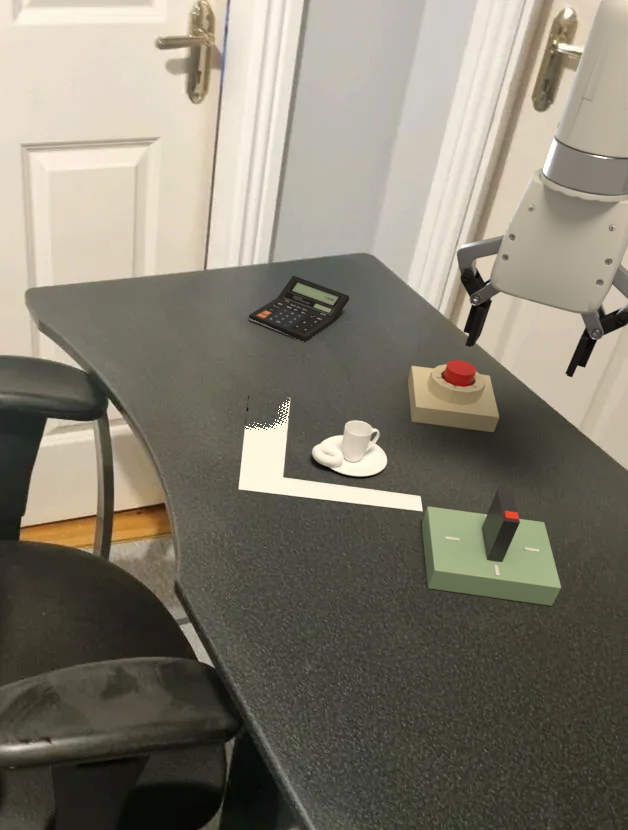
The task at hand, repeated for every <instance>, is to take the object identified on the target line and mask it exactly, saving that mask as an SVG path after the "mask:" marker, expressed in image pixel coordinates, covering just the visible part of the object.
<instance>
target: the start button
mask: <svg viewBox="0 0 628 830" xmlns="http://www.w3.org/2000/svg"><path fill="white" fill-rule="evenodd" d="M446 364H447V365H446V369H445V372H444V375H443V379H444V380H445V381H446V382H447V383H450V384H452V385H455V386H461V387H467V386H471V385H472V383H473V380H474V377H475V374H476V371H477V368H476V367H475V366H474V365H473V364H472V363H470V362H468V361H465V360H450V361H448V362H447V363H446Z"/></svg>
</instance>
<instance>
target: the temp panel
mask: <svg viewBox="0 0 628 830" xmlns="http://www.w3.org/2000/svg"><path fill="white" fill-rule="evenodd" d="M487 514H488V513H487ZM487 514H486V513H480V512H479V513H478V512H472V511H471V512H470V511H465V510H457V509H450V508H443V507H436V506H427V507H426V510H425V513H424V516H423V520H422V522H421V531H422V532H421V534H422V543H423V553H424V554H423V555H424V562H425V563H424V564H425V574H426V582H427V585H426V586H427V589H429V590H436V591H443V592H450V593H457V594H464V595H472V596H479V597H485V598H492V599H498V600H507V601H515V602H521V603H528V604H535V605H543V606H550V607H553V605H554V603H555V601H556V600H557V597H558V595H559V593H560V592H561V589H562V585H561V581H560V577H559V574H558V573H559V572H558V570H557V566H556V562H555V561H556V560H555V558H554V554H553V550H552V547H551V543H550V542H551V541H550V539H549V535H548V531H547V527H546V523H545V522H544V521H538V520H531V519H524V518H519V521H520V524H519V526H518V528H517V530H516V533H515V535H514V537H513V539H512V542H511V544H510V546H509V548H508V551H507V553H506V555H505V557H504V559H503V562H499V561H492V560H487V555H486V549H485V543H484V537H483V532H482V526H483V524H484V521H485V519H486V516H487Z"/></svg>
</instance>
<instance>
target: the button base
mask: <svg viewBox="0 0 628 830" xmlns="http://www.w3.org/2000/svg"><path fill="white" fill-rule="evenodd" d="M446 365H447V363H446V364H445V363H444V364H439V365H437V366H435V367H434V368H432V367H425V366H419V365H418V366H417V365H411V367H410V370H409V373H408V377H407V387H408V397H409V399H408V400H409V408H410V409H409V410H410V418H411V419H410V420H411V422H412V423H420V424H428V425H434V426H435V425H436V426H442V427H450V428H458V429H466V430H472V431H473V430H474V431H481V432H487V433H488V432H489V433H495V431H496V428H497V425H498V423H499V419H500V413H499V410H498V406H497V401H496V397H495V393H494V388H493V384H492V379H491V376H490V375H488V374H481V373H479V372H478V371H477V370H476V374H475V377H474V380H473V383H472V385H471V386H467V387H461V386H455V385H452V384H450V383H447V382H446V381H445V380H444V379H443V375H444V372H445V369H446Z"/></svg>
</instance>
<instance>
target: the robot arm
mask: <svg viewBox="0 0 628 830" xmlns="http://www.w3.org/2000/svg"><path fill="white" fill-rule="evenodd" d="M555 129H556V130H555V132H554V135H553V138H552V141H551V144H550V147H549V149H548V153H547V155H546V159H545V161H544V164H543V167H542V168H537V169H535V170H534V171H533V173H532V174H531V176H530V178H529V180H528V181H527V184H526V186H525V187H524V189H523V192H522V194H521V196H520V198H519V199H518V202H517V205H516V207H515V209H514V211H513V213H512V216H511V218H510V220H509V223H508V225H507V228H506V229H505V232H504V234H503V235H499V236H495V237H490V238H486V239H482V240H477V241H472V242H469V243H465V244H462V245H461V246H460V248H459V249H458V250H457V251H456V259H457V265H458V269H459V273H460V282H461V284H462V285H463V288H464V289H465V291H466V293H467V295H468V296H469V304H470V305H471V306H470V309H469V312H468V314H467V315H468V316H467V319H466V322H465V325H464V328H463V333H466V334H468V336H467V338H466V341H465V346H466V347H469V348H471V347H474V346H475V344H476V343H477V341H478V340H479V338H480V337H481V335H482V332H483V329H484V326H485V323H486V320H487V317H488V314H489V312H490V308H491V306H492V302H493V299H492V298H493V297H494V296H495V297H496V295H498V294H500V293H503V294H505V295H508V296H510V297H515V298H518V299H522V300H525V301H528V302H531V303H532V302H533V303H536V304H540V305H544V306H547V307H550V308H555V309H557V310H562V311H565V312H569V313H574V314H578V315H580V316H581V319H582V321H583V324H584V326H585V327H584V329H583V331H582V334H581V335H580V338H579V340H578V343H577V345H576V347H575V349H574V352H573V355H572V357H571V359H570V361H569V363H568V367H567V369H566V371H565V375H566V377H570V378H573V377H574V374H575V372H576V370H577V368H578V367H580V368H586V367H587V364H588V362H589V359H590V357H591V355H592V353H593V350H594V348H595V347H596V344H597V342H598V341H599V340H601V339H602V338H603V336H605V335H608V334H610V333H612V332H614V331H617V330H619V329H621V328H624V327H626V326H627V325H628V302H626V304H625V305H624V306H622V307H620V308H617V309H616V310H613V311H611V312H609V313H607V312H606V309H605V306H604V305H603V303H604V301H605V299H606V297H607V295H608V294H609V292H610V290H611V288H612V286H613V287H614V288H615V289H617V290H618V291H619V292H620V293H621V294H622V296H624V297H625V298H626V299H627V300H628V269H627V268H626V267H624V265H623V264H622V261H623V260H624V257H625V254H626V251H627V248H628V0H601V1H600V3H599V4H598V8H597V10H596V12H595V16H594V18H593V21H592V23H591V26H590V30H589V32H588V35H587V39H586V41H585V45H584V47H583V50H582V53H581V56H580V59H579V62H578V64H577V68H576V71H575V74H574V78H573V80H572V82H571V86H570V89H569V91H568V94H567V97H566V100H565V103H564V106H563V109H562V111H561V115H560V118H559V120H558V124H557V126H556V128H555ZM495 255H496V257H495V259H494V262H493V265H492V268H491V271H490V276H489V278H487V279H486V280H484V279H483V277H482V275H481V272H480V271H479V270H478V268H477V263H476V262H477V261H476V260H477V259H480V258H481V259H482V258H485V257H490V256H495Z"/></svg>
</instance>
